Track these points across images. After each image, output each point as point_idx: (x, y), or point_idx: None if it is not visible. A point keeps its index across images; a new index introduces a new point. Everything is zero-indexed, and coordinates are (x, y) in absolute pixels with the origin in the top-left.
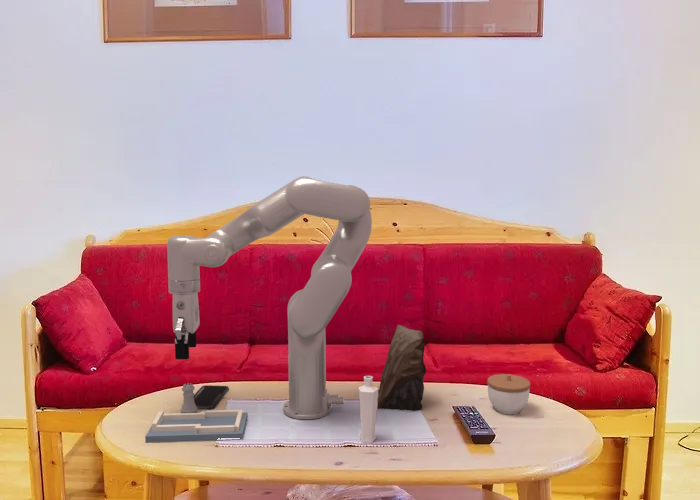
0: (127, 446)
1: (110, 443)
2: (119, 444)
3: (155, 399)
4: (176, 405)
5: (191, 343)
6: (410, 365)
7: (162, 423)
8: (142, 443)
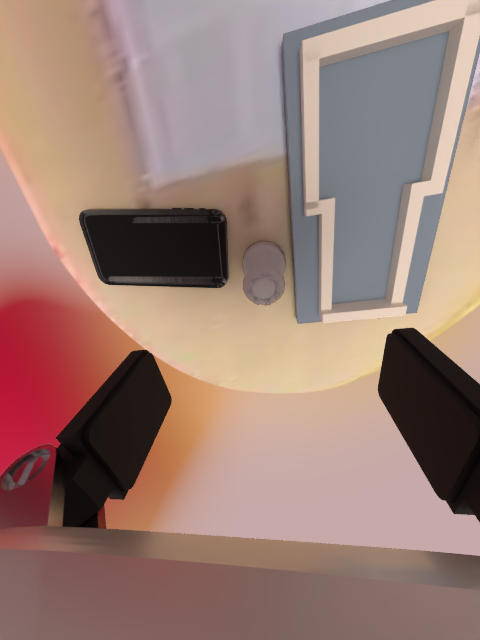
0: None
1: None
2: None
3: (193, 353)
4: (214, 307)
5: (148, 384)
6: None
7: (348, 300)
8: None
